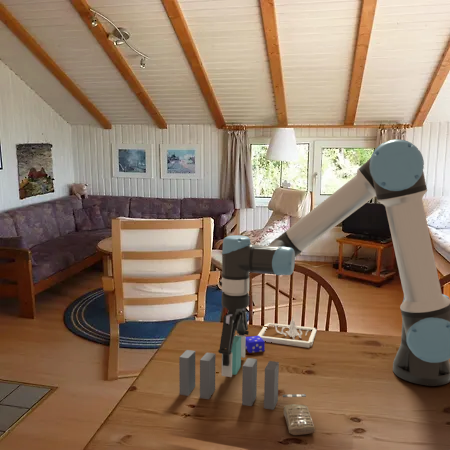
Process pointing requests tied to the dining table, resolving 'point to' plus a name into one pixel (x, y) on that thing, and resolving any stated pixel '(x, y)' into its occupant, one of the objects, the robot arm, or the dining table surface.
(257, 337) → the die
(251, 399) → the domino
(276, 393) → the domino
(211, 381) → the domino
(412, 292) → the robot arm
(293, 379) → the dining table surface
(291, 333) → the shell
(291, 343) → the white flat rectangular frame
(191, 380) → the domino
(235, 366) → the domino
